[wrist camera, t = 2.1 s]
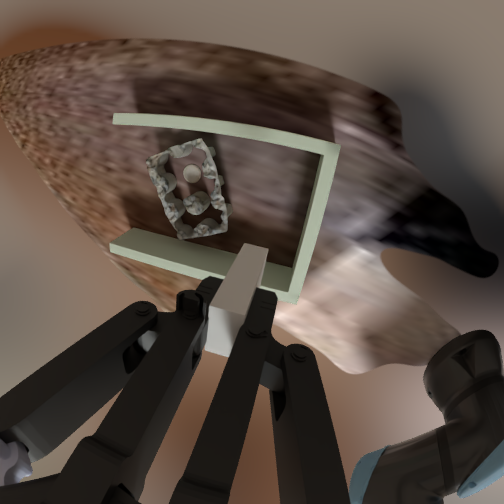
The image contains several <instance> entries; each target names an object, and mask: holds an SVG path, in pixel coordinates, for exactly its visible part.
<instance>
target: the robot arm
mask: <svg viewBox="0 0 504 504" xmlns="http://www.w3.org/2000/svg"><path fill="white" fill-rule="evenodd" d="M268 250H269V249H267V248H263V247H259V246H255V245H251V244H247V243H244V245H243V246H242V248H241V250H240V252H239V253H238V255H237V257H236V259H235V261H234V262H233V264H232V266H231V268H230V269H229V271H228V273H227V275H226V277H225V278H224V279H220V278H217V277H213V276H208V277H207V278H205V279H203V280H202V282H201V283H200V285H199V286H198V288H197V289H196V290H184V291H181V292H179V293H178V294H177V300H176V311H175V312H158V311H157V308H156V306H155V305H154V304H152V303H150V302H148V301H138V302H135V303H133V304H131V305H130V306H128V307H127V308H125V309H124V310H122V311H121V312H119V313H118V314H116V315H115V316H113V317H112V318H110V319H109V320H108V321H106V322H105V323H103V324H102V325H100V326H99V327H97V328H96V329H95V330H93V331H92V332H90V333H89V334H88V335H86V336H85V337H83V338H82V339H80V340H79V341H77V342H76V343H75V344H73V345H72V346H70V347H69V348H68V349H66V350H65V351H64V352H62V353H61V354H59V355H58V356H56V357H55V358H53V359H52V360H51V361H49V362H48V363H47V364H45V365H44V366H42V367H41V368H40V369H39V370H37V371H35V372H34V373H33V374H32V375H30V376H29V377H27V378H26V379H25V380H23V381H22V382H20V383H19V384H18V385H16V386H15V387H14V388H12V389H11V390H10V391H8V392H7V393H6V394H4V395H3V396H2V397H1V398H0V504H141V503H139V502H138V500H139V498H140V496H141V493H142V491H143V488H144V483H145V478H146V475H147V473H148V471H149V469H150V467H151V464H152V462H153V460H154V458H155V456H156V454H157V452H158V449H159V447H160V445H161V443H162V441H163V439H164V436H165V434H166V432H167V430H168V428H169V426H170V424H171V422H172V419H173V417H174V415H175V413H176V411H177V409H178V406H179V404H180V402H181V400H182V398H183V396H184V394H185V391H186V389H187V387H188V385H189V383H190V381H191V379H192V376H193V375H194V372H195V370H196V368H197V366H198V364H199V362H200V360H201V356H202V349H203V347H204V345H205V350H206V351H209V352H212V353H216V354H219V355H223V356H226V357H229V358H228V361H227V364H226V366H225V369H224V371H223V374H222V377H221V379H220V382H219V384H218V388H217V390H216V393H215V395H214V397H213V400H212V403H211V405H210V408H209V410H208V413H207V416H206V418H205V421H204V423H203V426H202V429H201V431H200V434H199V436H198V439H197V441H196V444H195V447H194V449H193V451H192V454H191V456H190V459H189V461H188V464H187V467H186V469H185V472H184V474H183V476H182V477H181V479H180V480H179V481H178V483H177V485H176V488H175V490H174V492H173V494H172V497H171V499H170V502H169V504H228V500H229V496H230V490H231V486H232V483H233V479H234V476H235V473H236V469H237V466H238V462H239V459H240V455H241V451H242V448H243V444H244V440H245V437H246V433H247V429H248V425H249V422H250V418H251V414H252V410H253V406H254V402H255V398H256V394H257V390H258V386H259V384H261V385H263V386H265V387H267V388H268V389H269V394H270V404H271V413H272V424H273V433H274V444H275V454H276V464H277V474H278V485H279V494H280V504H444V502H443V498H444V496H447V495H449V494H452V493H455V492H457V495H458V496H459V498H465V497H468V496H470V495H472V494H474V493H477V492H479V491H480V490H482V489H484V488H486V487H487V486H489V485H490V484H492V483H493V482H495V481H496V480H498V479H499V478H500V477H502V476H503V475H504V369H503V361H502V355H501V348H500V345H499V343H498V341H497V339H496V338H495V336H494V335H493V334H492V333H491V332H489V331H486V330H475V331H471V332H468V333H466V334H463V335H461V336H459V337H457V338H456V339H454V340H452V341H451V342H449V343H448V344H447V345H445V346H444V347H443V348H442V349H441V350H440V351H439V352H438V353H437V354H436V355H435V356H434V357H433V358H432V360H431V361H430V362H429V364H428V366H427V368H426V370H425V372H424V376H423V381H424V385H425V389H426V392H427V394H428V396H429V397H430V398H431V399H432V400H433V402H434V403H435V405H436V406H437V407H438V408H439V410H440V411H441V412H442V414H443V416H444V419H445V425H443V426H441V427H439V428H436V429H434V430H432V431H429V432H427V433H425V434H422V435H420V436H417V437H415V438H412V439H409V440H407V441H404V442H401V443H398V444H395V445H392V446H391V445H387V446H385V447H384V448H382V449H379V450H377V451H374V452H371V453H368V454H366V455H364V456H363V457H362V458H361V459H360V460H359V461H358V463H357V464H356V466H355V468H354V470H353V473H352V477H351V481H350V486H349V493H348V488H347V483H346V479H345V474H344V470H343V466H342V461H341V457H340V452H339V448H338V444H337V440H336V436H335V431H334V427H333V423H332V419H331V415H330V411H329V407H328V404H327V400H326V395H325V392H324V388H323V384H322V380H321V376H320V373H319V369H318V365H317V361H316V358H315V355H314V353H313V351H312V350H311V349H310V348H308V347H306V346H304V345H301V344H291V345H288V346H287V347H286V346H284V345H282V344H280V343H279V342H277V341H276V340H275V339H274V338H273V336H272V334H271V328H272V323H273V319H274V314H275V310H276V305H277V300H278V298H277V295H276V293H275V292H273V291H269V290H265V289H261V288H260V285H261V280H262V276H263V272H264V267H265V263H266V258H267V254H268ZM122 388H123V390H122V392H121V393H120V395H119V396H118V398H117V399H116V401H115V402H114V404H113V405H112V407H111V409H110V410H109V412H108V413H107V415H106V416H105V418H104V420H103V421H102V423H101V424H100V426H99V428H98V429H97V431H96V432H95V433H94V434H93V435H92V436H88V437H85V438H83V439H82V440H81V441H80V442H79V444H78V445H77V447H76V448H75V450H74V452H73V453H72V455H71V456H70V458H69V459H68V461H67V463H66V464H65V466H64V468H63V469H62V471H61V473H58V474H54V475H50V476H47V477H43V478H39V479H34V480H30V481H25V482H21V483H19V482H20V480H21V479H22V478H23V477H25V476H30V475H31V474H32V471H33V470H32V467H31V463H32V462H35V461H37V460H39V459H41V458H43V457H44V456H46V455H48V454H49V453H50V452H52V451H53V450H54V449H55V448H56V447H58V446H59V445H60V444H61V443H62V442H63V441H64V440H65V439H67V438H68V437H69V436H70V435H71V434H72V433H73V432H75V431H76V430H77V429H78V428H79V427H80V426H81V425H83V424H84V423H85V422H86V421H87V420H88V419H89V418H90V417H91V416H93V415H94V414H95V413H96V412H97V411H98V410H99V409H100V408H102V407H103V406H104V405H105V404H106V403H107V402H108V401H109V400H110V399H112V398H113V397H114V396H115V395H116V394H117V393H118V392H119V391H120V390H121V389H122Z"/></svg>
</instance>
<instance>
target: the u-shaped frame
mask: <svg viewBox="0 0 504 504" xmlns="http://www.w3.org/2000/svg"><path fill="white" fill-rule="evenodd" d="M113 124H122V125H142V126H156V127H168V128H178V129H187V130H196V131H203V132H211V133H218V134H225V135H231V136H237V137H243V138H249V139H254V140H260V141H265V142H270V143H275V144H280V145H284V146H289V147H293V148H298V149H302V150H306V151H310V152H314V153H318V154H321V156H320V161H319V165H318V169H317V173H316V178H315V182H314V186H313V190H312V194H311V198H310V202H309V206H308V210H307V214H306V218H305V222H304V226H303V230H302V233H301V237H300V241H299V245H298V248H297V252H296V256H295V260H294V263H293V267H292V268H290V267H286V266H282V265H278V264H274V263H270V262H266V263H265V267H264V272H263V276H262V280H261V285H260V288H261V289H265V290H269V291H273V292H275V293H276V295H277V298H278V300H280V301H284V302H288V303H292V304H297V301H298V298H299V295H300V292H301V289H302V286H303V283H304V279H305V276H306V273H307V270H308V266H309V263H310V260H311V256H312V253H313V250H314V246H315V243H316V239H317V236H318V232H319V229H320V225H321V222H322V218H323V214H324V211H325V207H326V203H327V200H328V196H329V192H330V188H331V184H332V180H333V176H334V172H335V168H336V164H337V160H338V155H339V151H340V147H341V145H339V144H336V143H333V142H329V141H325V140H321V139H317V138H313V137H309V136H305V135H300V134H296V133H291V132H287V131H282V130H277V129H272V128H267V127H261V126H256V125H250V124H244V123H237V122H231V121H224V120H216V119H208V118H199V117H189V116H178V115H164V114H146V113H114V117H113ZM110 252H112V253H115V254H119V255H122V256H125V257H128V258H131V259H134V260H138V261H141V262H144V263H147V264H150V265H154V266H157V267H160V268H164V269H167V270H170V271H174V272H177V273H181V274H184V275H187V276H191V277H194V278H198V279H201V280H203V279H205V278H207V277H208V276H213V277H217V278H220V279H224V278H225V277H226V275H227V273H228V271H229V269H230V268H231V266H232V264H233V262H234V261H235V259H236V257H237V255H238V254H235V253H231V252H227V251H223V250H219V249H215V248H211V247H207V246H203V245H200V244H196V243H192V242H188V241H184V240H179V239H176V238H172V237H168V236H165V235H161V234H157V233H153V232H149V231H145V230H141V229H138V228H132V229H130V230H129V231H127V232H126V233H124V234H123V235H121V236H120V237H118V238H117V239H115V240H114V241H112V242H110Z"/></svg>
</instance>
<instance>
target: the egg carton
mask: <svg viewBox="0 0 504 504" xmlns="http://www.w3.org/2000/svg"><path fill="white" fill-rule="evenodd" d="M193 145H194V147H196V148H199V149H203V150H204V151H205V152H206V156H207V158H206V160H205V161H204V162H203V164H202V165H203V166H202V169H203V172H204V175H203V176H205V177H207V178H209V179H212V178H216V180H215V185H218V187H216V186H215V188H214V189H215V190H214V191H213V192H212V193H211V203H212V205H213V206H214V208H215V209H219V210H222V211H223V213H222V214H221V216H220V217H221V219H222V220H223V221H222V223H221V224H218V223H217V222H216V221H215V220H214V219H212V218H206V219H204V220H203V221H202V222H201V223H200V224H198V225H197V227H196V228H195V229H194V230H193V228H192V227H191V226H190V225H188V224H183V222H182V220H181V216H182V215H183V214H184V213H185V210H186V209H187V211H188V212H189V213H191V214H193V215H199V214H201V213H202V212H203V211H205V210H206V209H207V208H208V207H209V205H210V197H209V196H208V195H207V194H206V193H205V192H203V191H198V192H196V193H194V194H192V195H191V196H189V197H187V198H185V199H184V200H183V201H182V200H180V199H176V198H175V196H174V194H173V192H172V190H174V189H175V187H176V184H177V180H176V178H175V176H174V175H173V174H171V173H166V171H165V168H164V164H165V163H166V162H167V160H168V153H169V154H170V155H171V156H172V157H174V158H180V157H184V156H187V155H189V154H190V153H191V152H192V149H193ZM213 156H215V151H214V148H213V147H207V146H206V144H205V143H204V142H203V140H202V138H199V139H196V140H194V141H192V142H191V141H190V142H187V143H184V144H182V145H180V146H179V145H176V146H173V147H170V148H169V149H167V150H166V151H164V152H162V153H159V154H157V155H154V156H152V157H149V158H148V159H147V160H146V163H147V165H148V167H147V169H148V172H149V173H150V178H151V180H152V182H153V184H154V185H156V187H157V191H158V196H159V198H160V199H161V201H162V204H163V207H164V211H165V214H166V215H167V217H168V219H169V221H170V222H171V224H172V225H173V227H174V229H175V230H176V231H177V237H178V239H179V240H184V239H188V238H191V239H192V238H196V237H203V236H208V235H214V234H217V233H223V232H226V231H227V229H228V220H227V217H228V216H229V215H230V214H231V213H232V212H233V209H232V206H231V204H227V203H224V202H225V200H224V198H223V197H222V195H221V187H220V186H222V185H223V184H224V180H223V177H222V175H218V174H217V169H216V166H215V163H214V161H213V159H212V157H213ZM183 173H184V178H185V179H186V180H187V181H188V182H190V183H196V182H198V180H199V179H200V177H201V170H200V168H199V167H198V166H196V165H194V164H189V165H187V166H186V167H185V169H184V172H183ZM185 207H186V208H185Z"/></svg>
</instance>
